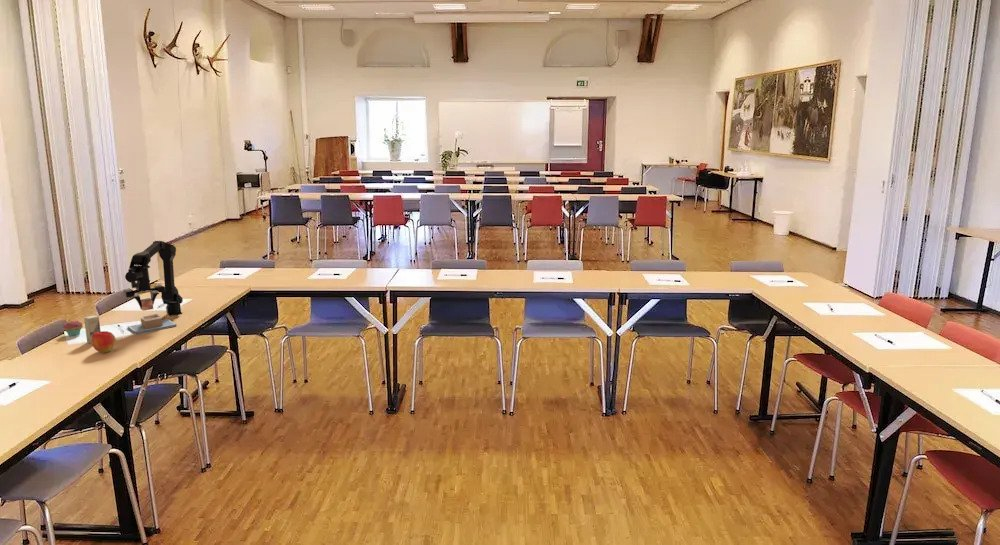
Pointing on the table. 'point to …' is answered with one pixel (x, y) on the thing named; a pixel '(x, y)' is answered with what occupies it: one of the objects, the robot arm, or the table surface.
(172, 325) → the blueprint board
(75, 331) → the cupcake
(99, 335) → the apple
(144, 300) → the terracotta block
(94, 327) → the box
